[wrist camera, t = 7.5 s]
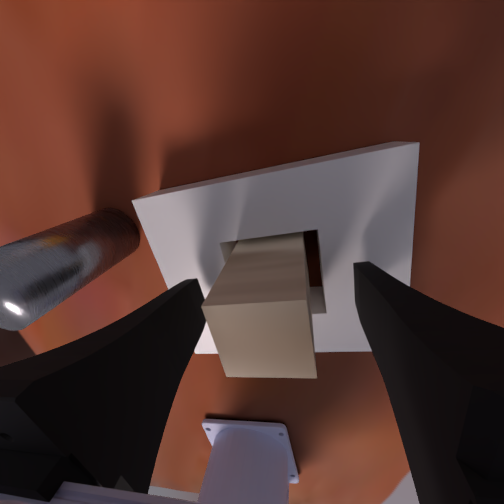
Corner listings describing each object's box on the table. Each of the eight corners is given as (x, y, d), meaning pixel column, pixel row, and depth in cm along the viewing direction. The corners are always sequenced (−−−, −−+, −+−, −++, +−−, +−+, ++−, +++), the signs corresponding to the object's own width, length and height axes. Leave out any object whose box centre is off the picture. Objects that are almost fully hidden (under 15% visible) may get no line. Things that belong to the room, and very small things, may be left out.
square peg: (308, 271, 14) (317, 378, 8) (256, 276, 15) (226, 376, 9) (301, 220, 13) (306, 299, 7) (245, 228, 13) (201, 306, 7)
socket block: (388, 317, 14) (405, 350, 12) (208, 326, 17) (195, 353, 15) (393, 141, 10) (419, 142, 8) (158, 190, 13) (131, 200, 11)
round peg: (147, 251, 15) (45, 329, 9) (107, 257, 16) (-12, 331, 10) (126, 203, 14) (-8, 256, 8) (84, 212, 15) (-68, 265, 9)
